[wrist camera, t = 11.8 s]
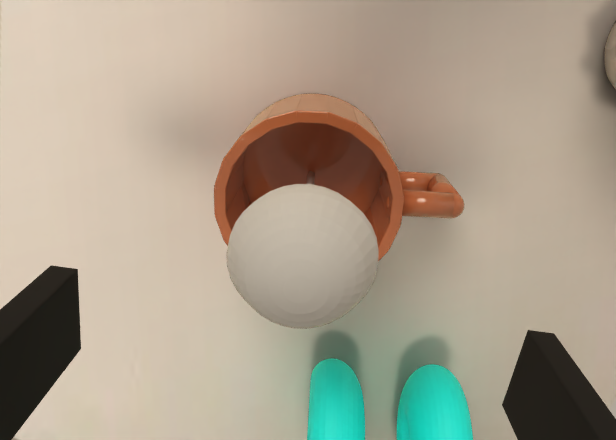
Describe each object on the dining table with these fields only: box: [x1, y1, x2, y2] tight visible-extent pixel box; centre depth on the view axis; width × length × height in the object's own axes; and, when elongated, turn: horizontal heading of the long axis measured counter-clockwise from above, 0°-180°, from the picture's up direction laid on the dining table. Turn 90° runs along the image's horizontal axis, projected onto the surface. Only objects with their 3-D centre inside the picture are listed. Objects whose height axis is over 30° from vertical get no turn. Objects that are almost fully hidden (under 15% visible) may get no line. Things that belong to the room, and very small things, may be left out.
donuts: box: [307, 358, 473, 440], centre depth 34 cm, size 10×10×10 cm
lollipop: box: [227, 171, 379, 329], centre depth 25 cm, size 6×6×15 cm
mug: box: [214, 94, 464, 261], centre depth 29 cm, size 13×10×7 cm
